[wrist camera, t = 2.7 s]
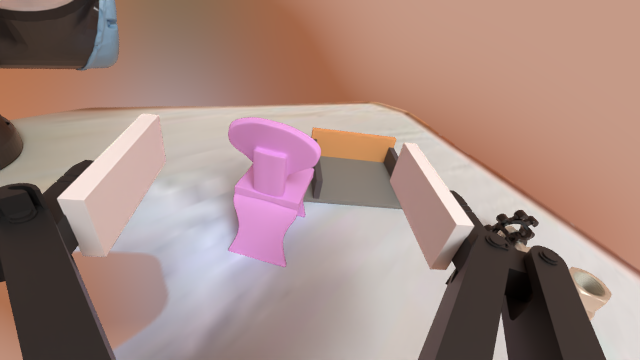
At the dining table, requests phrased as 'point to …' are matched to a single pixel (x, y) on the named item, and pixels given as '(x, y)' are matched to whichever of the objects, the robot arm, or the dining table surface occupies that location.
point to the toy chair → (270, 184)
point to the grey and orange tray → (353, 169)
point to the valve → (586, 283)
